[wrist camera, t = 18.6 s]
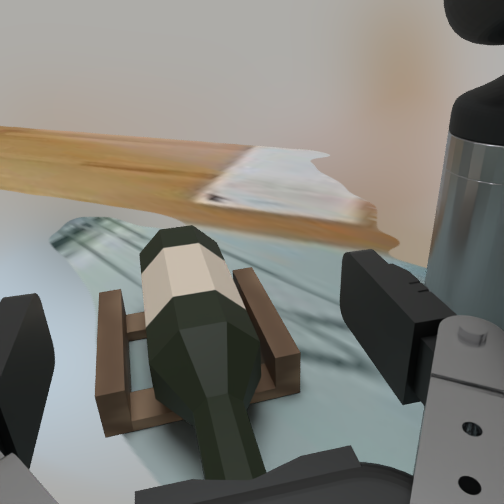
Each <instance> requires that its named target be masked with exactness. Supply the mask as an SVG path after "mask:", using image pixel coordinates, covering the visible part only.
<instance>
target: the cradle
mask: <svg viewBox="0 0 504 504" xmlns="http://www.w3.org/2000/svg"><path fill="white" fill-rule="evenodd" d="M233 281H234V283H235V285H236V288H237V290H238V292H239V295H240V297H241V299H242V301H243V304H244V306H245V308H246V311H247V313H248V315H249V317H250V320H251V322H252V324H253V327H254V329H255V331H256V333H257V336H258V338H259V340H260V350H261V379H260V381H259V383H258V386H257V388H256V390H255V393H254V395H253V397H252V399H251V402H250V404H252V403H256V402H260V401H265V400H269V399H273V398H278V397H282V396H286V395H290V394H295V393H299V392H300V351H299V349H298V347H297V346H296V344H295V342H294V340H293V339H292V337H291V335H290V333H289V332H288V330H287V328H286V326H285V325H284V323H283V321H282V319H281V318H280V316H279V314H278V312H277V311H276V309H275V307H274V305H273V304H272V302H271V300H270V298H269V297H268V295H267V293H266V291H265V290H264V288H263V286H262V284H261V283H260V281H259V279H258V277H257V276H256V274H255V272H254V270H253V269H252V267H250V268H244V269H238V270H233ZM143 338H147V334H146V322H145V312H140V313H134V314H129V315H126V312H125V307H124V302H123V297H122V292H121V289H119V290H113V291H107V292H101V293H99V310H98V334H97V357H96V381H95V382H96V383H95V399H96V403H97V407H98V410H99V414H100V418H101V422H102V426H103V430H104V434H105V437H111V436H115V435H119V434H124V433H128V432H132V431H136V430H141V429H145V428H149V427H153V426H158V425H162V424H166V423H171V422H175V421H179V420H183V418H181V417H180V416H178V415H177V414H176V413H174V412H173V411H172V410H170V409H169V408H167V407H166V406H165V405H163V404H162V403H161V402H159V401H158V400H156V399H155V393H154V388H149V389H144V390H140V391H135V392H131V375H130V357H129V341H133V340H138V339H143Z"/></svg>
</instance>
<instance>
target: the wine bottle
mask: <svg viewBox="0 0 504 504" xmlns="http://www.w3.org/2000/svg"><path fill="white" fill-rule="evenodd" d="M140 265H141V277H142V288H143V299H144V311H145V322H146V334H147V345H148V357H149V366H150V371H151V377H152V382H153V388H154V393H155V399H156V400H158V401H159V402H161V403H162V404H163V405H165V406H166V407H167V408H169V409H170V410H172V411H173V412H174V413H176V414H177V415H178V416H180V417H181V418H183V419H184V420H185V421H187V422H188V423H190V424H191V425H192V426H194V427H195V430H196V436H197V441H198V446H199V452H200V457H201V462H202V468H203V473H204V478H205V480H251V479H254V478H257V477H259V476H261V475H263V474H265V473H266V470H265V467H264V464H263V461H262V458H261V455H260V452H259V448H258V445H257V442H256V439H255V436H254V433H253V430H252V427H251V424H250V421H249V418H248V415H247V412H246V411H247V409H248V406H249V404H250V402H251V399H252V397H253V395H254V393H255V390H256V388H257V386H258V383H259V381H260V379H261V350H260V340H259V338H258V336H257V333H256V331H255V329H254V327H253V324H252V322H251V320H250V317H249V315H248V313H247V311H246V308H245V306H244V304H243V301H242V299H241V297H240V295H239V292H238V290H237V288H236V285H235V283H234V281H233V279H232V276H231V274H230V272H229V270H228V267H227V265H226V263H225V260H224V258H223V256H222V254H221V251H220V249H219V247H218V244H217V242H215V241H214V240H212V239H211V238H210V237H208V236H207V235H205V234H204V233H203V232H201V231H200V230H198V229H197V228H196V227H194V226H193V225H191V226H184V227H176V228H169V229H161V230H159V231H158V232H157V234H156V235H155V236H154V237H153V238H152V240H151V241H150V242H149V243H148V244H147V245H146V247H145V248H144V249H143V250H142V251H141V253H140Z"/></svg>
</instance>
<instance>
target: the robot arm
mask: <svg viewBox="0 0 504 504" xmlns="http://www.w3.org/2000/svg"><path fill="white" fill-rule="evenodd" d="M444 8H445V13H446V17H447V19H448V22H449V24H450V26H451V27H452V29H453V30H454V31H455V33H457V34H458V35H459V36H460V37H461V38H463V39H465V40H468V41H470V42H472V43H476V44H484V45H504V0H444ZM340 309H341V314H342V317H343V320H344V322H345V323H346V325H347V326H348V328H349V329H350V330H351V332H352V333H353V335H354V336H355V338H356V339H357V340H358V342H359V343H360V345H361V346H362V348H363V349H364V350H365V352H366V353H367V355H368V356H369V358H370V359H371V360H372V362H373V363H374V365H375V366H376V368H377V369H378V370H379V372H380V373H381V375H382V376H383V378H384V379H385V380H386V382H387V383H388V385H389V386H390V388H391V389H392V390H393V392H394V393H395V395H396V396H397V398H398V399H399V400H400V402H401V403H402V405H405V404H410V403H415V402H420V401H421V402H422V403H423V405H424V406H425V407H424V412H423V418H422V424H421V430H420V436H419V442H418V448H417V454H416V460H415V465H414V471H413V476H412V475H410V474H408V473H406V472H403V471H401V470H398V469H395V468H392V467H388V466H384V465H380V464H374V463H366V462H359V461H358V459H357V457H356V455H355V453H354V451H353V449H352V447H351V445H350V446H345V447H341V448H336V449H331V450H327V451H322V452H317V453H313V454H308V455H303V456H300V457H298V458H296V459H294V460H292V461H290V462H288V463H286V464H284V465H281V466H279V467H277V468H275V469H273V470H271V471H269V472H267V473H265V474H263V475H261V476H259V477H257V478H254V479H251V480H196V479H191V480H186V481H182V482H177V483H172V484H168V485H163V486H158V487H154V488H149V489H144V490H140V491H135V504H504V75H502V76H500V77H499V78H497V79H495V80H493V81H492V82H489V83H487V84H485V85H483V86H480V87H478V88H475V89H473V90H470V91H468V92H466V93H464V94H462V95H461V96H459V97H458V98H457V100H456V101H455V103H454V105H453V108H452V112H451V118H450V125H449V132H448V138H447V144H446V151H445V157H444V164H443V171H442V177H441V183H440V190H439V196H438V202H437V208H436V216H435V221H434V228H433V234H432V240H431V247H430V253H429V259H428V265H427V272H426V278H425V284H424V285H423V284H422V283H420V281H419V280H418V279H417V278H416V277H415V276H413V275H412V274H411V273H410V272H409V271H407V270H405V269H403V268H401V267H399V266H396V265H394V264H388V263H387V262H386V261H385V260H384V259H383V258H382V257H380V256H379V255H378V254H377V253H376V252H375V251H374V250H372V249H368V250H361V251H353V252H346V253H345V254H344V256H343V259H342V272H341V289H340ZM54 355H55V354H54V347H53V343H52V339H51V335H50V332H49V328H48V325H47V321H46V317H45V314H44V310H43V307H42V303H41V300H40V298H39V296H38V295H37V294H36V293H34V294H26V295H19V296H12V297H4V298H3V299H2V300H1V302H0V504H58V503H57V502H56V500H55V499H54V498H53V497H52V496H51V495H50V494H49V492H48V491H47V490H46V489H45V488H44V487H43V485H42V484H41V483H40V482H39V481H38V480H37V479H36V477H35V476H34V475H33V474H32V473H31V472H30V471H29V468H30V464H31V460H32V456H33V452H34V448H35V444H36V440H37V436H38V432H39V428H40V424H41V420H42V416H43V412H44V407H45V404H46V400H47V396H48V392H49V388H50V384H51V380H52V376H53V372H54V366H55V356H54Z"/></svg>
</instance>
